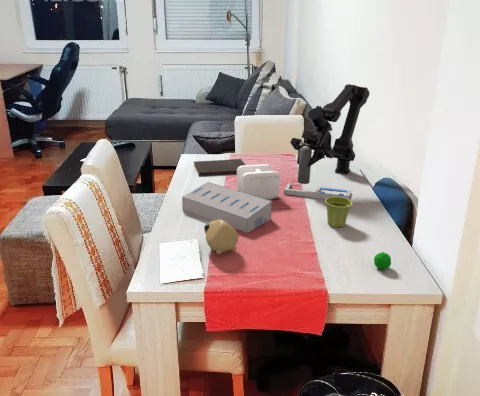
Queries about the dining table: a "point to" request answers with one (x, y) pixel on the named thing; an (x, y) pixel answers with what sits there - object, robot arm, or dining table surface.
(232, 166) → the hardcover book
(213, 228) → the tan rounded figure
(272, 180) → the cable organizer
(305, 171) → the grey bottle
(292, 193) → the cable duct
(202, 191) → the warehouse
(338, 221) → the plant pot
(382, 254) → the polyhedron
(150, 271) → the dining table surface
